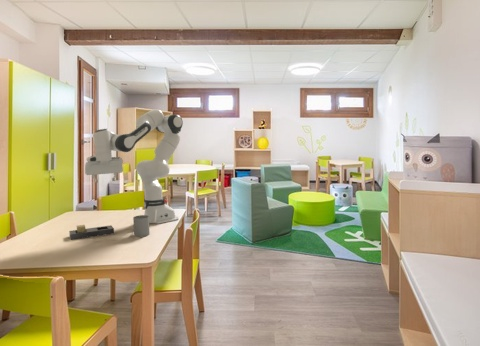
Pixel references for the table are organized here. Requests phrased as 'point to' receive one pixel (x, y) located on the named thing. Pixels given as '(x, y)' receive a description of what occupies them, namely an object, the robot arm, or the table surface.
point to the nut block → (81, 228)
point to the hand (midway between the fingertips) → (105, 181)
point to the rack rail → (92, 232)
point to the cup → (141, 225)
